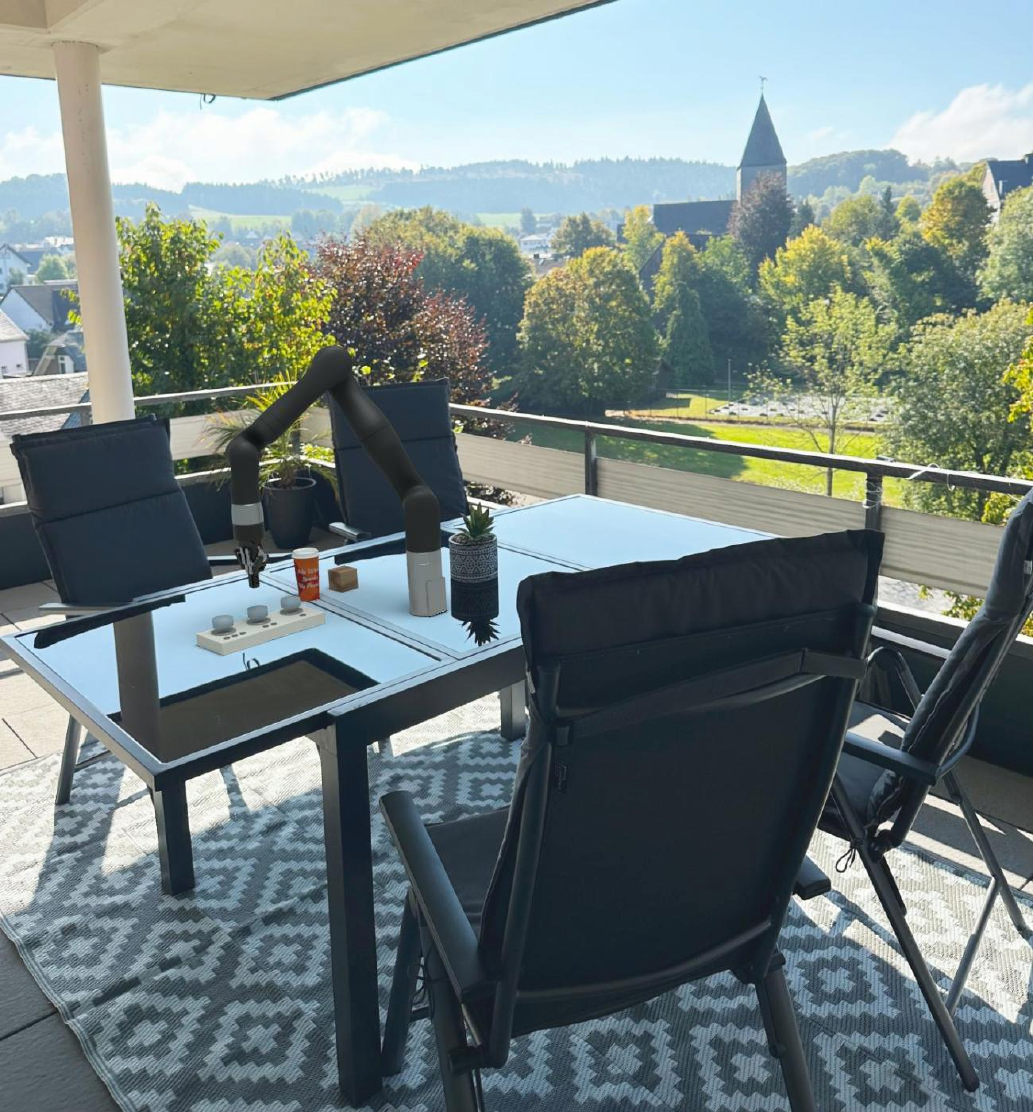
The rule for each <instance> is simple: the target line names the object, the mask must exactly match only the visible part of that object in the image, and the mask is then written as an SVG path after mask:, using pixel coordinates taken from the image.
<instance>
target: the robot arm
mask: <svg viewBox="0 0 1033 1112" xmlns="http://www.w3.org/2000/svg"><path fill="white" fill-rule="evenodd" d="M311 361H312V362H311V365H310V367H309V368H308V369H307V371H306V372H305V373H304V375H302V377H300V379H299V380H298V381H296V383H294V384H293V385H292V386H291V387H290V388H289V389H288V390H286V391H285V392H284V393H283V394H282V395H280V396H279V397H278V398H277V399H276V400H274V402H272V403H271V404H270V405H269V406H267V408H266V409H265V410H264V411H263V412H262V413H261V414H260V415H258V417H256V419H254V421H253V422H252V423H251V424H250V425H248V426H247V427H245V428H244V429H243V430H242V431H240V432H239V433H238V434H237V435H235V436H234V437H233V438H232V439H231V440H230V441H229V442H228V443H227V445H226V447H225V450H224V457H225V459H226V460H227V462H228V463H229V466H230V476H231V482H230V486H229V487H230V488H229V490H230V491H229V492H230V503H231V524H232V532H233V539H234V540H235V541H236V542H238V547H237V548H234V549H233V554H234V556H235V558H236V559H237V562H238V563H239V566H240V568H241V570H242V571H245V573H246V574H247V580H248V587H249V588H251V589H258V588H260V586H261V585H260V584H261V583H260V573H262V572H264V571H265V570H266V566H267V564H268V562H269V559H270V554H269V553H265V552H264V547H263V544H262V540H264V539H265V537H266V530H265V521H264V519H265V518H264V511H263V506H262V502H261V501H262V500H261V490H260V484H259V483H260V456H259V454H260V453H261V452H262V450H264V449H265V448H266V447H267V446H269V445H272V444H274V443H276V442H277V440H279V439H280V438H281V436H283V435H284V434H285V433H286V432H287V431H288V430H289V429H290V428H291V427H292V426H293V425H294V423H296V422H297V420H298V419H299V418H301V416H302V415H303V414H304V413H305V412H306V411H307V410H308V409H309V408H310V406H312V405H313V404H314V403H315V402H316V401H317V400H318V399H319V398H321V397H322V396H323V395H324V394H325V393H327V392H328V393H329V394H330V396H331V397H332V398H333V399H334V401H335V403H336V404H337V406H338V407H339V409H340V411H341V412H342V414H343V416H344V418H345V420H346V422H347V424H348V426H349V428H350V429H351V431H352V433H353V434H354V436H355V437H356V439H357V441H358V443H359V444H360V445H361V447H362V449H363V450H364V452H365V454H366V455H367V456H368V458H369V459H370V460H371V461H372V462H373V464H374V465H375V466H376V468H378V470H379V471H380V472H381V473H382V474H383V475H384V476H385V477H386V479H387V480H388V482H389V483H390V484H391V486H392V488H393V489H394V491H395V493H396V495H397V497H398V499H399V501H400V503H401V506H402V510H403V520H404V535H405V538H404V539H405V541H404V542H405V554H406V572H407V588H408V589H407V590H408V601H409V613H410V614H411V615H414V616H419V617H429V616H431V617H433V616H432V615H434V616H436V615H435V614H437V615H439V613H440V614H442V613H441V612H442V611H446V610H447V611H448V606H447V587H446V586H447V585H446V577H445V576H443V563H442V561H443V560H442V529H441V528H442V527H441V511H440V510H441V509H440V503H439V501H438V498H437V496H436V494H435V493H434V491H432V489H431V487H429V486H428V485H427V483H426V482H425V481H424V480H423V478H422V477H421V476H420V474H419V473H418V471H417V470H416V468H415V467H414V465H413V464H412V462H411V460H410V457H409V455H408V453H407V451H406V449H405V447H404V444H403V443H402V441H401V439H400V437H399V436H398V434H397V432H396V430H395V429H394V427H393V426H392V424H391V423H390V421H389V420H388V418H387V416H386V415H385V414H384V413H383V411H382V410H381V409H380V408H379V407H378V406H377V405H376V404H375V402H374V401H373V400H372V399H371V398H370V397H369V396H368V395H367V394H366V392H364V390H363V389H362V387H361V386H360V384H359V382H358V380H357V378H356V376H355V375H354V373H353V365H354V363H353V357H352V355H351V353H350V351H348V350H347V349H346V348H345V347H343V346H341V345H338V344H337V345H336V344H329V345H327V346H323V347H321V348H320V349H318V350H317V351H316V352H315V353H314V355H313V357H312V360H311ZM447 611H446V612H447Z"/></svg>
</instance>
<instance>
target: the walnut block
mask: <svg viewBox="0 0 1033 1112" xmlns="http://www.w3.org/2000/svg"><path fill="white" fill-rule="evenodd" d="M358 576H359V574H358V568H356V567H352V566H350V565H349V566H348V565H340V566H337V567H333V568H330V569H327V578H328V579H327V580H328V589H329V590H330V591H334V592H337V593H340V594H343V593H347V592H351V591H354V590H356V589H359V579H358Z"/></svg>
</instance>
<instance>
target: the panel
mask: <svg viewBox="0 0 1033 1112" xmlns="http://www.w3.org/2000/svg"><path fill="white" fill-rule="evenodd" d="M325 615H326V613H325V612H324V611H322V610H318V609H314V608H311V607H308V606H304V605H301V606H300V607H297V608H293V609H283V608H279V609H277V610H272V611H269V612H268V616H266V617H264V618H259V619H251V618H248V617H247V618H245V619H242V620H238V621H235V622H233V624H234V625H233V626H232V627H230V628H226V629H214V628H211V629H207V630H205V631H200V632H198V633H195V637H196V644H197V646H199V647H201V648H204V649H206V650H209V651H211V652H212V653H213V652H214V653H216V654H218V655H221V656H226V655H229V654H233V653H236V652H239V651H242V650H245V649H248V648H252V647H255V646H254V645H256V646H258V644H259V645H262V644H263V643H262V642H265V641H268V642H270V641H269V640H271V641H273V640H272V639H274V638H278V639H280V638H279V637H281V636H284V635H286V634H290V635H293V634H292V633H294V632H297V631H300V630H303V631H306V630H309V629H311V628H310V627H313V626H316V627H318V625H319V626H321V625H320V624H322V625H324V624H323V623H325V624H326V616H325ZM308 628H309V629H308ZM313 628H314V627H313ZM305 629H306V630H305ZM300 632H301V631H300ZM297 633H298V632H297ZM294 634H295V633H294ZM284 637H285V636H284ZM281 638H282V637H281ZM261 643H262V644H261ZM265 643H266V642H265ZM251 646H252V647H251Z"/></svg>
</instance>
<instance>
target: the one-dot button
mask: <svg viewBox="0 0 1033 1112" xmlns="http://www.w3.org/2000/svg"><path fill="white" fill-rule="evenodd" d="M279 601H280V609H282V608H283V609H293V608H297V607H300V606H301V604H302V603H301V600H300V597H299V595H289V596H288V595H287V596H284V597H282V598H280V600H279Z"/></svg>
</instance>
